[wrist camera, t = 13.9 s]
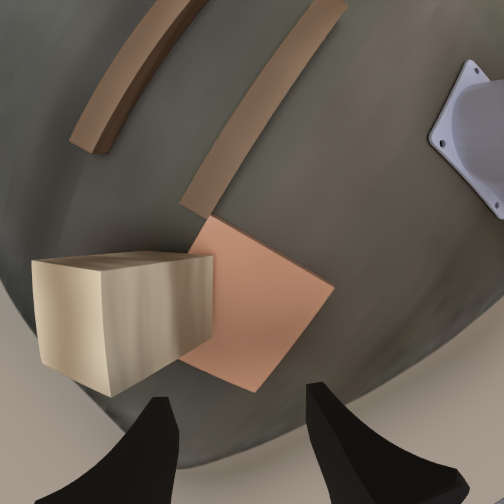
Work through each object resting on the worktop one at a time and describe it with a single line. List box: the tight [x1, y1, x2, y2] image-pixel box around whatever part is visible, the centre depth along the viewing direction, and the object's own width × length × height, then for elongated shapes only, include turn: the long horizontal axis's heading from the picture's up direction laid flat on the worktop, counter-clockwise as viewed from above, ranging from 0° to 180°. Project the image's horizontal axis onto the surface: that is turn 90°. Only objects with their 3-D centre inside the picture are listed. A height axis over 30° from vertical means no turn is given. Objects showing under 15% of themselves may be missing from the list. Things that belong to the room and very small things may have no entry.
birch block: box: [32, 251, 213, 397], centre depth 14 cm, size 4×4×8 cm
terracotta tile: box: [178, 213, 334, 393], centre depth 19 cm, size 8×9×1 cm
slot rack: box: [69, 0, 349, 219], centre depth 15 cm, size 8×14×2 cm, turn 148°
